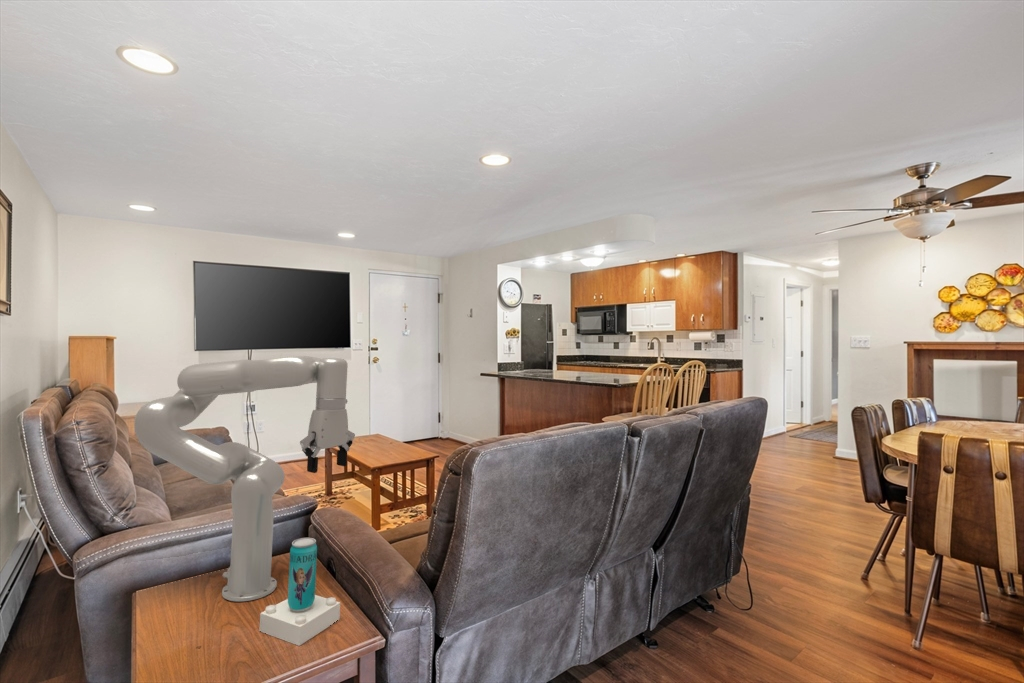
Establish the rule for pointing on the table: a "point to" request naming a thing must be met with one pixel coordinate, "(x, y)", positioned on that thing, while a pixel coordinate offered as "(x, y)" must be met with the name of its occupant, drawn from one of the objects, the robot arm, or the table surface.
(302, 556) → the beverage can
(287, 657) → the table surface
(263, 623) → the brick
